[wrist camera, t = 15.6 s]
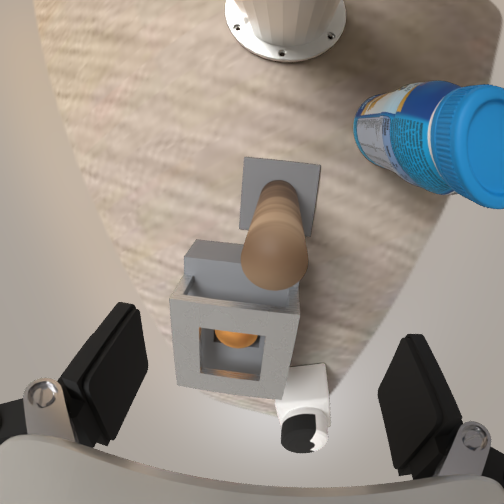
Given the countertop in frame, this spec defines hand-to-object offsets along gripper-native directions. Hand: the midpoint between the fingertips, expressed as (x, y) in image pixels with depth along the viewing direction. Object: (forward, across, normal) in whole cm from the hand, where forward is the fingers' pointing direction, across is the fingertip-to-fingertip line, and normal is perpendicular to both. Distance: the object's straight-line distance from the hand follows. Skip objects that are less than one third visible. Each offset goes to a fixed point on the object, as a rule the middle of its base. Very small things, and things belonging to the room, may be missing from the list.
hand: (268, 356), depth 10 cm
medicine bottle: (+25, -7, +28) cm, 38 cm away
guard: (+20, +3, +14) cm, 25 cm away
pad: (+25, 0, 0) cm, 25 cm away
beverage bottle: (+25, -11, -8) cm, 29 cm away
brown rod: (+25, 0, +1) cm, 25 cm away
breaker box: (+25, +3, +14) cm, 29 cm away
